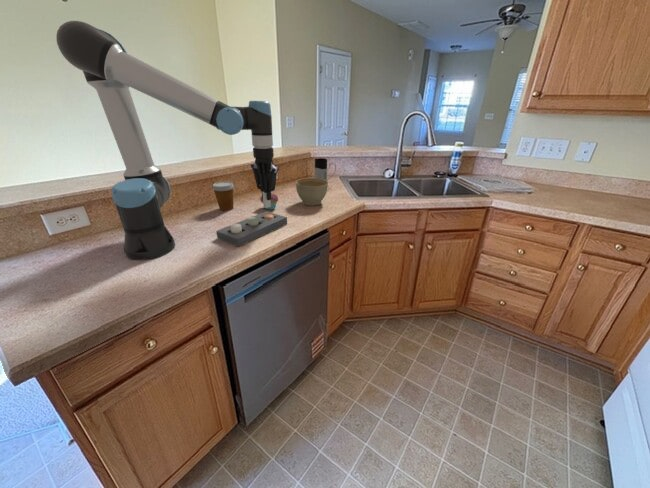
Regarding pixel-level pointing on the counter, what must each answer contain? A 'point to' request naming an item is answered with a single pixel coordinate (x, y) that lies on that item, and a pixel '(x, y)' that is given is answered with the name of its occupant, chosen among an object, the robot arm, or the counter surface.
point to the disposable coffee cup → (224, 195)
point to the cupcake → (272, 201)
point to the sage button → (253, 221)
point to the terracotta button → (268, 216)
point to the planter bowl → (311, 190)
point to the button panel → (251, 229)
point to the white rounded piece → (236, 228)
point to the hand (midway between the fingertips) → (267, 206)
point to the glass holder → (322, 168)
